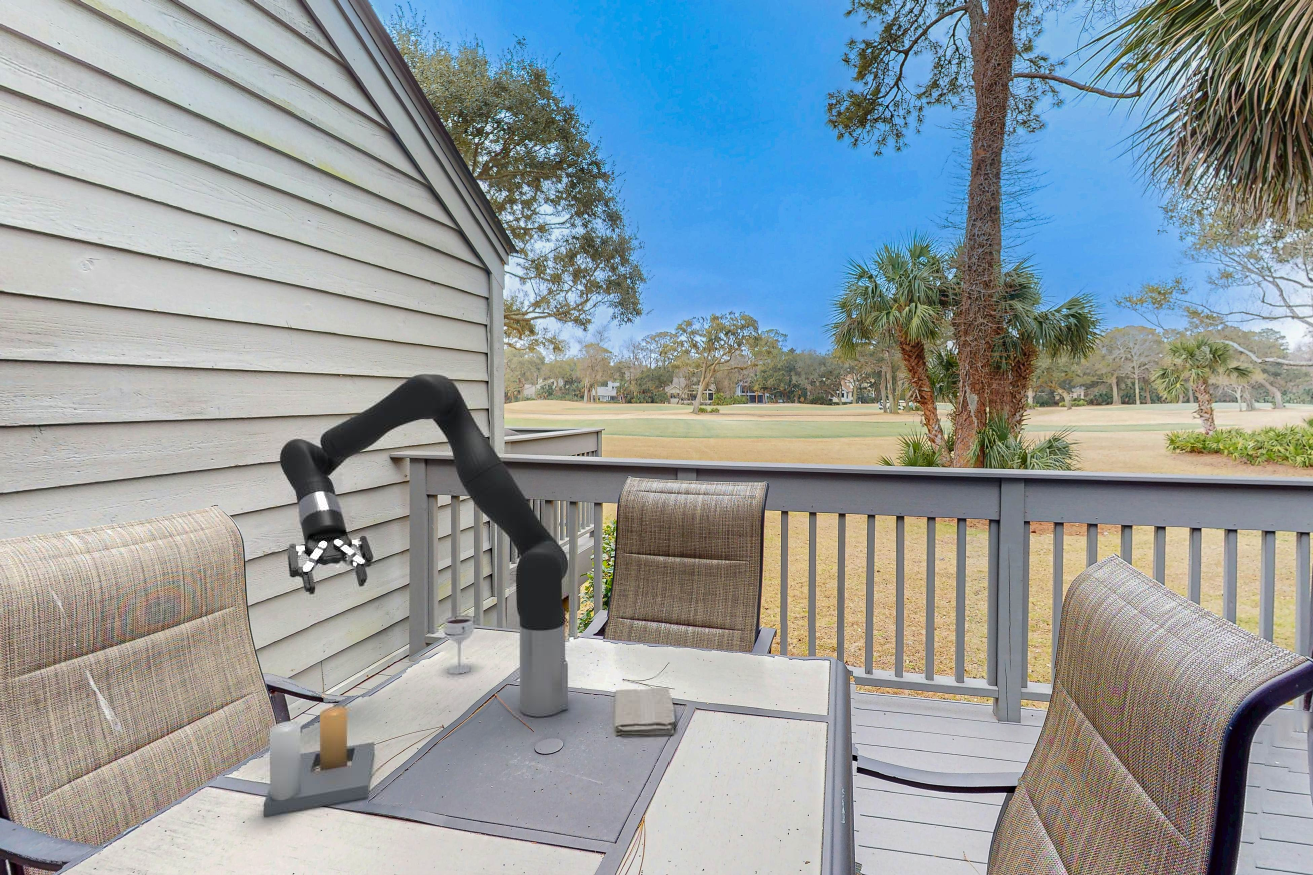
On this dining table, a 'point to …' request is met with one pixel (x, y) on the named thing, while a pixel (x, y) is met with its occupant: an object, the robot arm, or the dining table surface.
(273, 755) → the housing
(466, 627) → the wineglass
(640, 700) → the washcloth
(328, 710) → the orange cylinder
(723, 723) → the dining table surface
